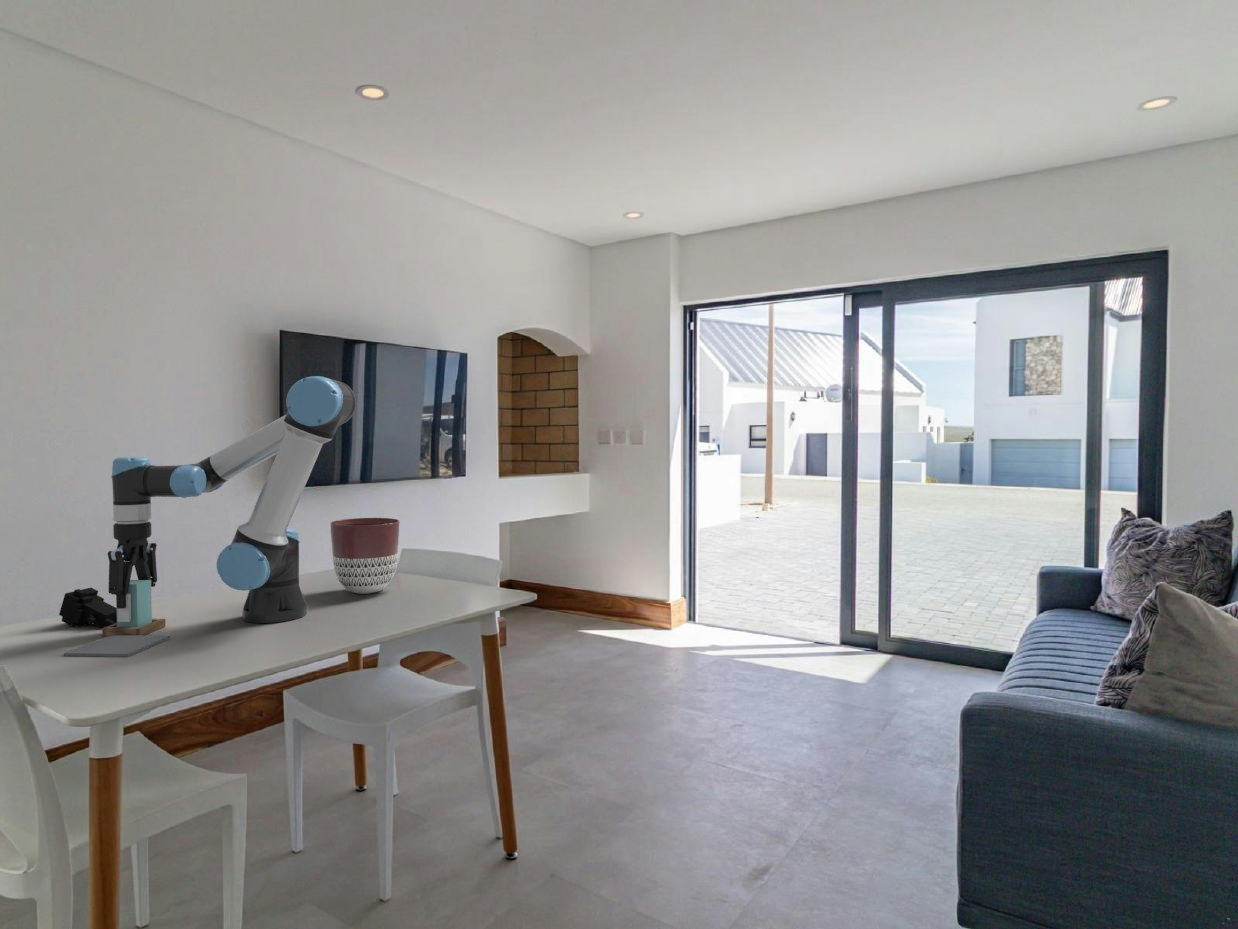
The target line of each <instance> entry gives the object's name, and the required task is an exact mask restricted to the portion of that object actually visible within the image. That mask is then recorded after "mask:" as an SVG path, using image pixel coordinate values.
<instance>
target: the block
mask: <svg viewBox="0 0 1238 929" xmlns="http://www.w3.org/2000/svg"><path fill="white" fill-rule="evenodd" d="M127 594H131V621H130V622H118V612H117V627H141V626H144V625H147V624H149V623H152V619H153V617H152V616H153V612H152V611H153V610H152V607H153V606H152V587H151V580H138V579H130V584H129V589H128V593H127ZM115 604H116V609H117V602H115Z"/></svg>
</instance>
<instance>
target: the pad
mask: <svg viewBox="0 0 1238 929" xmlns="http://www.w3.org/2000/svg"><path fill="white" fill-rule="evenodd" d="M171 636H172V635H161V634H160V635H159V634H158V635H154V634H153V635H152V634H151V635H149V634H147V635H110V636H107V637H103V638H98V639H97V640H95V641H92V642H89V643H86V644H83V645H81V646H79V647H76V648H74V649H71V650H67V651H65V652H64V653H63V656H64V657H107V658H108V657H110V658H111V657H113V658H114V657H118V658H121V657H122V658H124V657H125V658H129V657H132V656H134V655H136V654H138V653H140V652H143V651H144V650H147V649H150V648H151V647H154V646H156V645H159V644H161V643H163V642H165V641H168V640H170V639H171Z"/></svg>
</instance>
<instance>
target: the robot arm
mask: <svg viewBox="0 0 1238 929" xmlns="http://www.w3.org/2000/svg"><path fill="white" fill-rule="evenodd" d="M285 400H286V401H285V403H286V404H285V405H286V408H287V412H286V414H285V415H283V416H280V417H279V418H277V419H275V420H274V421H271V422H270V423H268V424H266V425H264V426H263V427H261V428H259V429H256V430H255V431H253V432H251V433H250V434H248V435H246V436H244V437H242V438H241V439H239V440H237V441H235V442H233V443H232V444H229V445H227V446H226V447H224V448H222V449H220V450H219V451H217V452H215V453H213V454H211V455H210V456H208V457H206V458H204V459H201V461H199V462H196V463H189V464H179V465H178V464H177V465H152V464H151V460H150V458H149V457H145V456H125V457H124V456H123V457H121V456H120V457H116V458H115V459H113V460H112V467H111V469H112V471H111V472H112V473H111V476H110V478H111V482H112V512H113V522H115V523H113V525H112V528H113V529H112V531H113V538H114V540H117V546H116V549H115V550H109V551H107V558H108V562H109V564H108V565H109V566H108V593H109V594H111V595H115V596H116V597H115V599H116V600H115V601H116V602H117V612H118V622H130V621H131V594H127V593H128V589H129V584H130V580H131V577H132V572H133V568H134V569H135V572H136V577H137V580H151V588H154V587H156V583H157V582H158V572H157V556H156V555H157V554H156V551H157V546H158V544H157V543H156V542H149V540H148V538H150V537H151V536H152V522H150V520H151V519H152V502H151V499H152V498H161V497H162V498H164V497H165V498H184V499H185V498H196V497H199V496H201V495H202V494H204V493H211V492H214V491H217V490H219V489H221V487H223V485H224V484H226V482H228V481H229V480H231V479H234V478H235V477H237V476H239V475H241V474H243V473H244V472H246V471H247V470H250V469H252V468H254V467H255V466H257V465H259V464H261V463H263V462H265V461H266V460H268V459H270V458H272V457H274V456H275V458H274V460H273V463H272V465H271V468H270V470H269V472H268V474H267V476H266V478H265V481H264V483H263V486H262V488H261V491H260V492H259V495H258V498H257V500H256V503H255V505H254V507H253V509H252V511H251V514H250V517H249V519H248V521H246V522H245V523H243V524H240V525H238V527H237V530H236V532H235V534H234V537H233V539H232V541H231V543H230V544H228V545H226V546H225V547H224V548H223V549H222V550H221V552H220V553H219V555H218V557H217V560H216V571H217V574H218V575H219V577H220V579H221V581H222V582H223V583H224V584H225V585H227V586H228V587H229V588H232V589H233V590H236V591H248V593H247V596H246V599H245V602H244V605H243V608H242V620H243V621H244V622H247V623H253V624H267V623H268V624H271V623H280V622H281V623H282V622H288V621H292V620H296V619H300V618H302V617H304V616H306V615H307V613H308V612H307V611H308V610H307V609H308V608H307V603H306V600H305V598H304V595H303V592H302V590H301V587H300V546H299V545H300V539H299V532H298V531H297V530H296V529H294V528H288V527H289V525H290V522H291V520H292V518H293V515H294V513H295V511H296V508H297V506H298V503H299V501H300V499H301V497H302V494H303V492H304V490H305V487H306V484H307V482H308V481H309V478H310V476H311V473H312V472H313V468H314V467H315V463H316V461H317V459H318V456H319V454H320V452H321V449H322V448H323V445H324V444H326V443H328V442H330V441H332V440H333V438H334V436H335V434H336V432H337V429H338V427H339V426H341V425H343V424H346V423H347V422H348V421H349V420H350V419H351V418H352V417H353V416H354V414H355V412H356V409H357V399H356V395H355V392H354V391H353V390H352V388H351V387H350V386H349V385H348V384H347V383H344V382H342V381H340V380H337V379H332V378H329V377H325V376H321V375H314V376H306V377H304V378H301V379H299V380H297V381H296V382H295V383H294V384H293V385H292V386H291V387H290V389H289V390H288V392H287V395H286V399H285ZM116 602H115V603H116Z"/></svg>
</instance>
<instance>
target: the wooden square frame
mask: <svg viewBox="0 0 1238 929" xmlns="http://www.w3.org/2000/svg"><path fill="white" fill-rule="evenodd" d="M165 627H166V618H152V623H149V624H147V625H144V626H141V627H117V623H115V624H112V625H110V626H107V627H104V628H101V629H102V631H101V632H102V634H101V635H102V637H103V638H104V637H107V636H110V635H149V634H151V633H154V632H156V631H159V630H161V629H164V628H165Z"/></svg>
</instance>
